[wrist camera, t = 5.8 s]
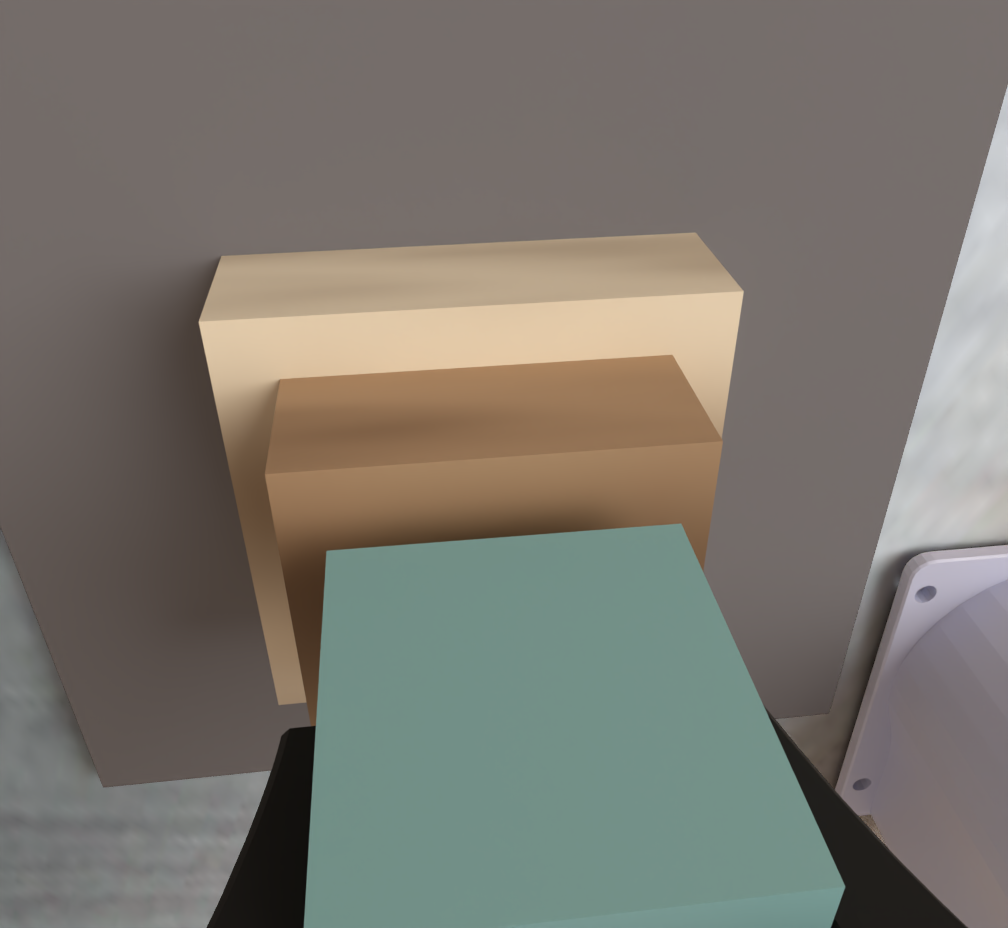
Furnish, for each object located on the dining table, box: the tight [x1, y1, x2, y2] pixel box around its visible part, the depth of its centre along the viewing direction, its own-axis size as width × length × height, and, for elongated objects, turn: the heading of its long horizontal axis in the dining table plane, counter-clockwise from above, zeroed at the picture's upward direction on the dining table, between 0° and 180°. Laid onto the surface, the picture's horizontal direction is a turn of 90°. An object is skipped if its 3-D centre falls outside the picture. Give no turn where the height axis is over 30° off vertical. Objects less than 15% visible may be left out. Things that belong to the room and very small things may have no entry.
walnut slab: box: [265, 355, 723, 726], centre depth 15 cm, size 6×6×2 cm
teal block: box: [304, 524, 845, 928], centre depth 11 cm, size 4×4×5 cm
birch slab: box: [199, 233, 744, 705], centre depth 17 cm, size 8×8×2 cm
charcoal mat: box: [0, 0, 1008, 787], centre depth 18 cm, size 18×18×1 cm
